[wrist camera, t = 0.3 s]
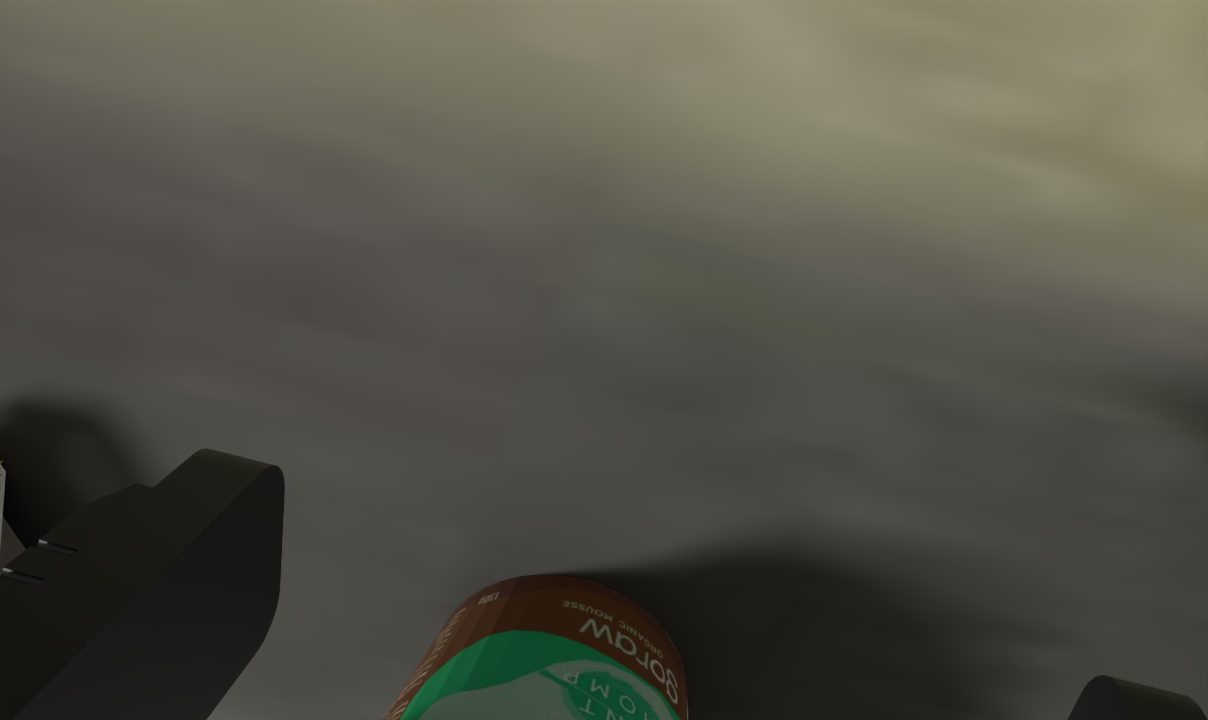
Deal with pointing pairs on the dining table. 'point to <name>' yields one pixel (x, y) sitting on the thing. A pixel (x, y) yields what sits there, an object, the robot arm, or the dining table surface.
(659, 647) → the food container
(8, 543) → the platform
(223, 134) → the dining table surface
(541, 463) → the dining table surface
